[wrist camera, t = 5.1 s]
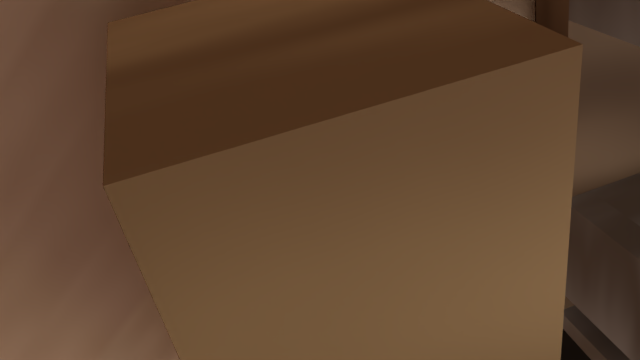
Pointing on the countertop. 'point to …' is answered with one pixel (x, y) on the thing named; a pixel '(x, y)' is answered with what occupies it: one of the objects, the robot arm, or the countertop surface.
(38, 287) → the countertop surface
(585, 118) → the bracket board
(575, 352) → the robot arm
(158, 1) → the countertop surface
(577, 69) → the rail
